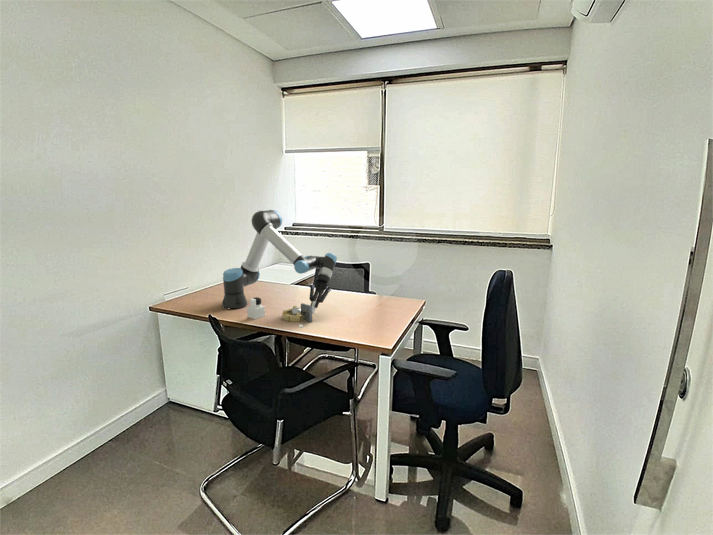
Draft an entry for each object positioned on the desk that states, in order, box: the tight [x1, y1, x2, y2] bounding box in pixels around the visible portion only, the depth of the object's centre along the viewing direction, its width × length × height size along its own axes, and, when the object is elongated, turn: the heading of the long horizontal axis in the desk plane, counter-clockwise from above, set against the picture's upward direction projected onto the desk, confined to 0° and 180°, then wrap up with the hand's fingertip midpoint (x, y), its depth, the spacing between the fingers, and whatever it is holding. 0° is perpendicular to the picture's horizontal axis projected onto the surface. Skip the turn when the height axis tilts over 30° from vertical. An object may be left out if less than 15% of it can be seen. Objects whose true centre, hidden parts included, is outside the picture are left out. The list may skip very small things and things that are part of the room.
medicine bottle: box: [246, 296, 266, 320], centre depth 213 cm, size 7×7×12 cm
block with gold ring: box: [281, 302, 313, 323], centre depth 210 cm, size 20×15×9 cm
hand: (311, 312), depth 207 cm, fingers closed
